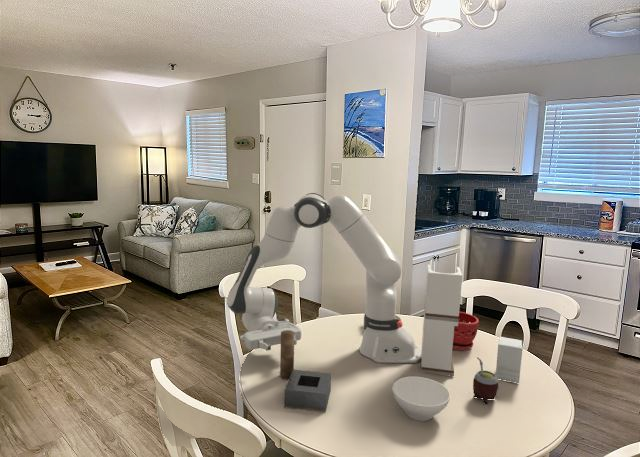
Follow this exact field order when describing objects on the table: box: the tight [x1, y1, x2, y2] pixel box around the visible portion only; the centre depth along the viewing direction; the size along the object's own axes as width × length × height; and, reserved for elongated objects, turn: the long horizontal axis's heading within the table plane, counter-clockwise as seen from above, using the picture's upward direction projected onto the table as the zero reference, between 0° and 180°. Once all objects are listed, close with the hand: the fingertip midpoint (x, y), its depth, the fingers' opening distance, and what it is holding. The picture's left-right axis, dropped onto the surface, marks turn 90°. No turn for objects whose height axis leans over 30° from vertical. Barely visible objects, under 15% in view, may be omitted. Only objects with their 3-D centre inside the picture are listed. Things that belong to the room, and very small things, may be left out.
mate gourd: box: [472, 356, 499, 405], centre depth 130 cm, size 8×8×15 cm
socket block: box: [283, 369, 332, 413], centre depth 128 cm, size 12×12×6 cm
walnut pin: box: [279, 330, 295, 381], centre depth 140 cm, size 4×4×15 cm
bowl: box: [391, 376, 451, 422], centre depth 123 cm, size 16×16×7 cm
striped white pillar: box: [420, 264, 463, 377], centre depth 149 cm, size 11×11×35 cm
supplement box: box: [495, 336, 524, 384], centre depth 144 cm, size 7×7×13 cm
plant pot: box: [452, 311, 480, 351], centre depth 169 cm, size 13×13×12 cm
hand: (282, 345), depth 144 cm, fingers open, 8 cm apart
